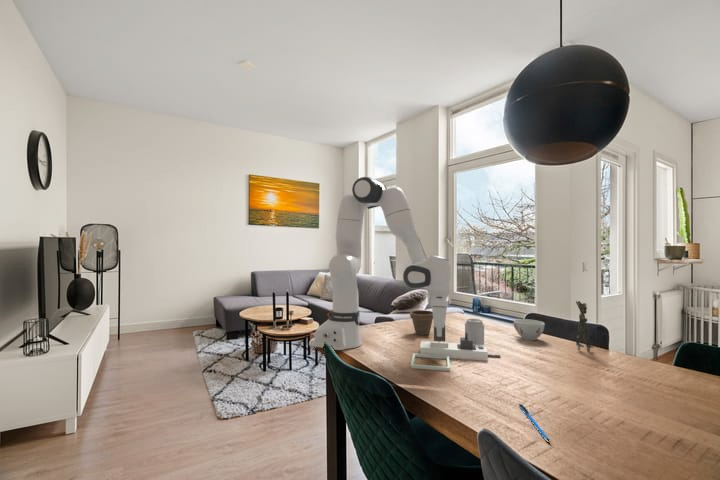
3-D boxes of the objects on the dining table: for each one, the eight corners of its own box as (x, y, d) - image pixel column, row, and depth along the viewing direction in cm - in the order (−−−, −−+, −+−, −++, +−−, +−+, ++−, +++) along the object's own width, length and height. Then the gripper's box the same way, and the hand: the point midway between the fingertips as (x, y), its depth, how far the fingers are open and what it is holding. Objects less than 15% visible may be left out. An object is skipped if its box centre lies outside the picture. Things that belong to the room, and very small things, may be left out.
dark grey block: (433, 340, 134) (433, 324, 134) (434, 338, 138) (434, 322, 138) (445, 341, 133) (445, 325, 133) (445, 338, 137) (445, 322, 137)
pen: (521, 406, 95) (521, 402, 95) (553, 447, 76) (553, 442, 76) (518, 406, 95) (518, 402, 95) (548, 446, 76) (548, 441, 76)
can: (481, 346, 148) (481, 318, 148) (486, 352, 140) (486, 322, 140) (463, 346, 148) (463, 317, 149) (466, 351, 141) (466, 321, 141)
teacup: (551, 341, 157) (551, 323, 157) (530, 344, 152) (530, 325, 152) (523, 333, 171) (523, 316, 171) (503, 335, 166) (503, 318, 166)
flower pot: (409, 335, 165) (409, 314, 165) (410, 330, 176) (410, 309, 176) (434, 337, 163) (434, 315, 163) (433, 331, 174) (433, 310, 174)
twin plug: (460, 356, 132) (461, 333, 132) (460, 353, 136) (460, 331, 136) (472, 357, 131) (472, 334, 131) (471, 353, 135) (471, 331, 135)
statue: (596, 354, 139) (596, 302, 139) (577, 352, 141) (577, 301, 141) (592, 350, 143) (592, 301, 143) (574, 349, 145) (574, 300, 145)
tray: (410, 370, 120) (410, 364, 120) (413, 358, 132) (413, 353, 132) (450, 373, 117) (450, 367, 117) (449, 361, 130) (449, 355, 130)
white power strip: (420, 358, 133) (420, 345, 133) (421, 350, 142) (421, 339, 142) (502, 364, 127) (502, 351, 127) (498, 356, 136) (498, 344, 136)
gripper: (431, 294, 147) (431, 327, 147) (430, 302, 127) (430, 340, 127) (447, 294, 145) (447, 328, 145) (448, 302, 125) (448, 341, 125)
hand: (439, 334), depth 136 cm, fingers closed on dark grey block, 4 cm apart
